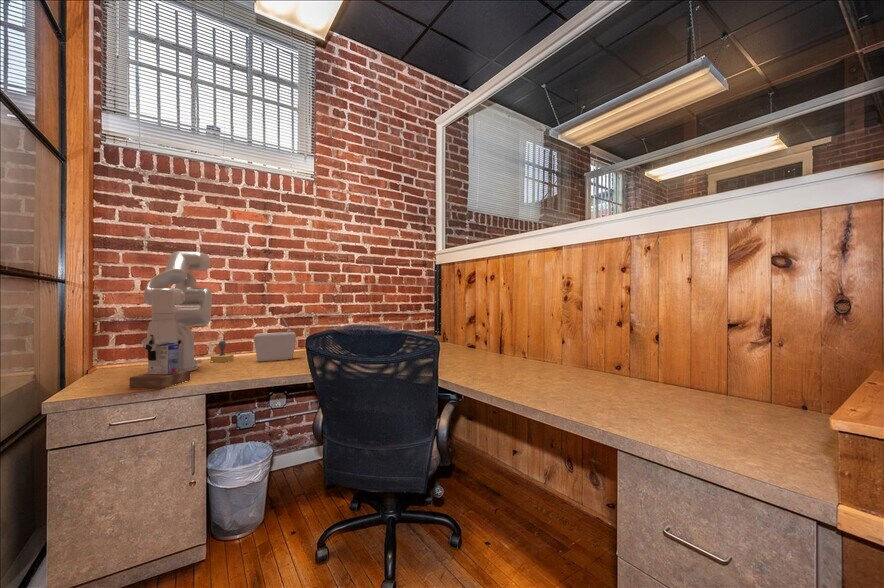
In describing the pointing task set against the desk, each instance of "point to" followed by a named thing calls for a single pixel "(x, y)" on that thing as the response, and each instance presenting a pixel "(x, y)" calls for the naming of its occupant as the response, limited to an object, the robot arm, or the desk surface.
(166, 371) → the ink cartridge box
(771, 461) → the desk surface
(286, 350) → the rounded grey case
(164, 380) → the walnut box
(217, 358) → the rubber stamp
